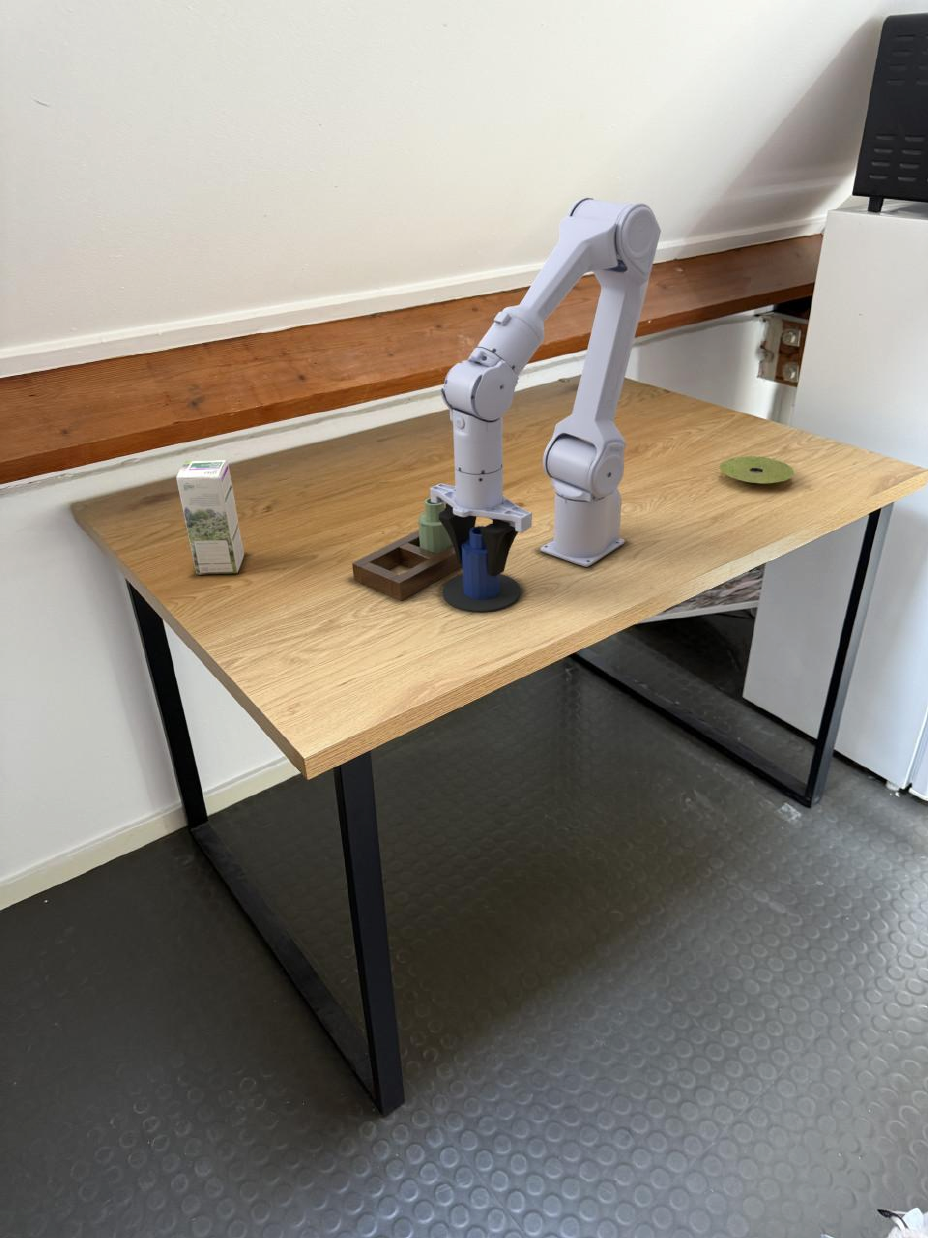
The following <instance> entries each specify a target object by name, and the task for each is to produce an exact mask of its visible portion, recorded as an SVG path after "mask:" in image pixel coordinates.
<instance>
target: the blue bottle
mask: <svg viewBox="0 0 928 1238" xmlns="http://www.w3.org/2000/svg"><path fill="white" fill-rule="evenodd" d="M485 526H486V525H485ZM485 526H484V525H477V526H475V527H473V528H471V529H470V531H469V536H470V539H468V540H466V541H464V543H463V544H462V563H463V566H462V575H463V588H464V594H465V595H466V596H468V597H470V598H473V599H489V598H492V597H494V596H496V595H497V594H498V593H499V590H500V574H501V573H500V574H498V575H497V576H495V577H493V576H490V574H489V570H488V554H487V548H486V544H485V541H484V538H483V536H482V533H481V528H483V527H485Z"/></svg>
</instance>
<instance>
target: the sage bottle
mask: <svg viewBox="0 0 928 1238" xmlns="http://www.w3.org/2000/svg"><path fill="white" fill-rule="evenodd" d="M444 508H446V507H445V504H444V503H441V502H440V503H438V504H436V503H433V502H431V497H428V498H426V499H425V500H424V513H422V514H420V515H418V518H417V521H418V522H417V523H418V530H419V539H420V548H422V549H425V550H428V551H430V552H433V553H435V554H439V553H441V552H443V551H445V550H447V549H449V548H450V547H452V546H453V544H452V541H451V539H450V537H449V535H448V533H447V531H446V529H445V528H444V526H443V525H442V523H441V522H440V521H439V518H438V514H439V513H440V512H442V511H444Z"/></svg>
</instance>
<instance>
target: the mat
mask: <svg viewBox="0 0 928 1238" xmlns="http://www.w3.org/2000/svg"><path fill="white" fill-rule="evenodd" d="M719 470H720V471H721V473H723V474H724V475H726V476H727V477H729V478H731V479H734V480H738V481H742V482H747V483H753V484H774V483H780V482H784V481H787V480H789V479H791V478H792V477H793V476H794V473H795V471H794V469H793V467H791V466H790V465H789V464H787V463H786V462H784V461H781V460H777V459H775V458H770V457H765V456H754V455H749V456H748V455H747V456H736V457H731V458H728V459H725V460H724V461H722V462H721V463H720V465H719Z"/></svg>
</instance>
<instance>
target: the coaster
mask: <svg viewBox="0 0 928 1238" xmlns="http://www.w3.org/2000/svg"><path fill="white" fill-rule="evenodd" d="M521 592H522V591H521V586H520V584H519V583H518V582H517V581H516V580H515V579H513V578H512V577H511V576H508V575H505V574H503V573H500V590H499V593H498V594H497V595H496V596H494V597H492V598H489V599H473V598H470V597H468V596H466V595H465V594H464V588H463V574H460V575H458V576H455V577H453V578H451V579H450V580H449V581H447V582H446V583H445V585H444V586H443V587H442V598H443V600H444V601H445V602H446V603H447V604H448V605H450V606H451V607H452V608H455V609H458V610H460V611H465V612H469V613H470V612H471V613H491V612H497V611H501V610H503V609H506V608H508V607H510V606H512V605H514V604H515V603H516V602H518V600H519V598H520V596H521Z"/></svg>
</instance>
